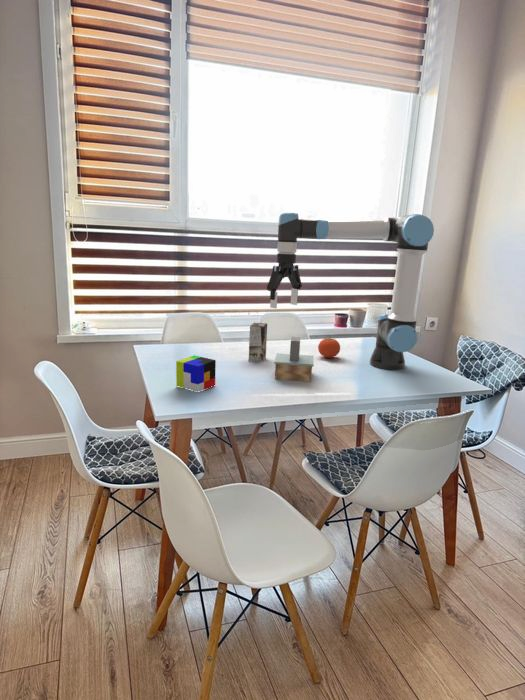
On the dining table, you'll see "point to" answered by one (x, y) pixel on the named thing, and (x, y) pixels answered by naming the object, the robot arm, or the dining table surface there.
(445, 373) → the dining table surface
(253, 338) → the coffee box
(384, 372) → the dining table surface
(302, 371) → the crate
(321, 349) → the orange fruit
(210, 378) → the puzzle toy
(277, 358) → the lid
